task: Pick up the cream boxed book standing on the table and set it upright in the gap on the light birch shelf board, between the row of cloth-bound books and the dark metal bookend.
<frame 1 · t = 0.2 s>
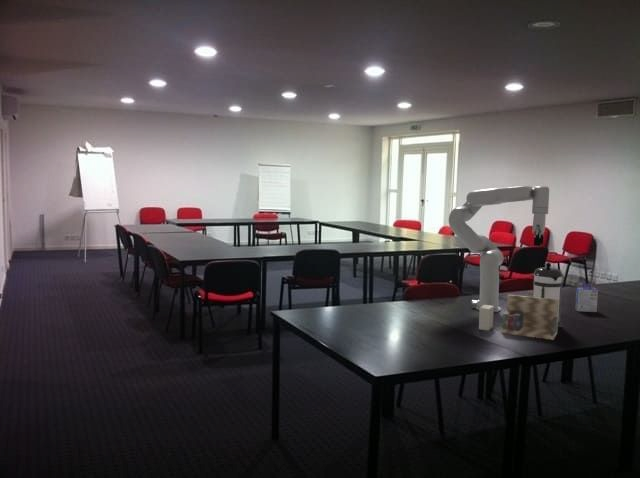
hand: (538, 244, 274), 37 cm above the table, tool pointing down, fingers open, 9 cm apart
ink cartridge box: (585, 311, 289), on the table
boxed book: (485, 327, 254), on the table
bookshelf: (529, 333, 245), on the table
coffee press: (543, 324, 261), on the table
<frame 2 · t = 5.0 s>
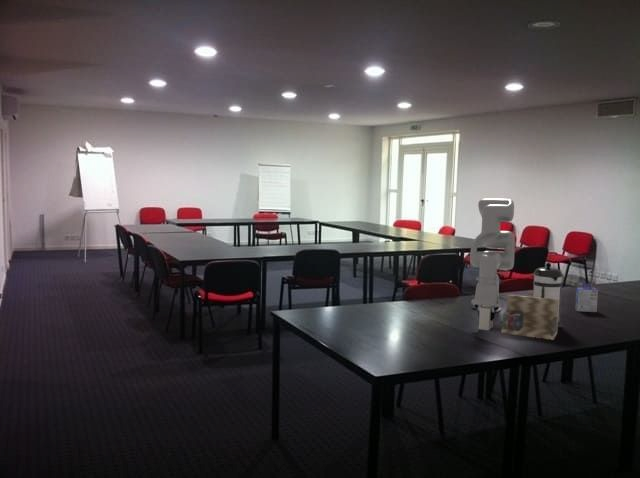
hand: (486, 318, 253), 4 cm above the table, tool pointing down, fingers closed on boxed book, 4 cm apart
boxed book: (485, 327, 254), on the table, touching gripper
everything else where it was.
when the fingers open (7 cm above the table, at t = 12.1 s): boxed book stays where it is, resting on bookshelf.
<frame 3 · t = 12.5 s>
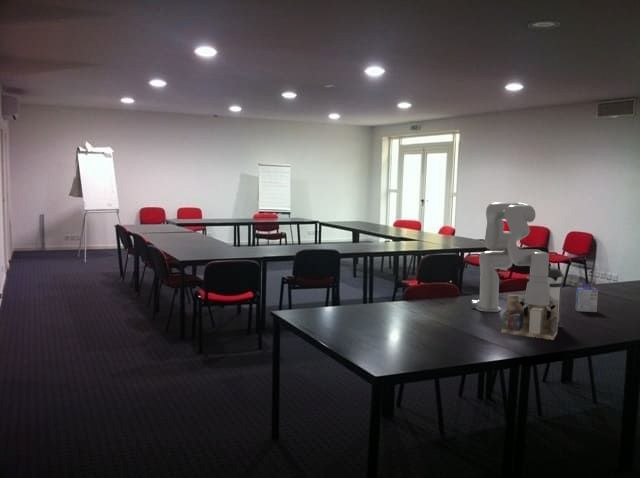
hand: (536, 317, 242), 8 cm above the table, tool pointing down, fingers open, 8 cm apart
boxed book: (536, 331, 243), point 1 cm above the table, touching bookshelf
everything else where it was.
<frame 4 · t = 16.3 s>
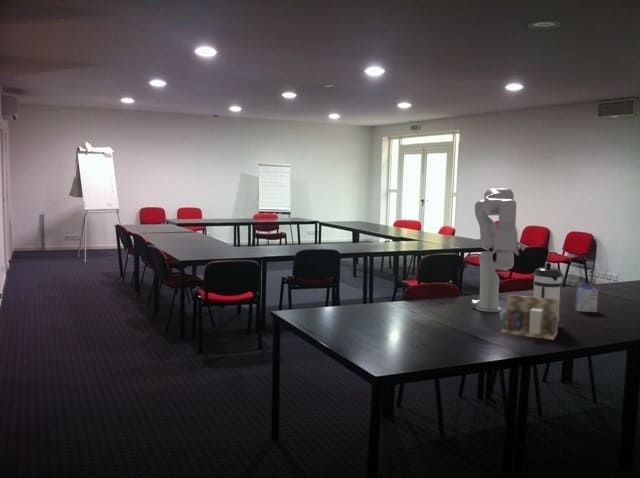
hand: (505, 262, 254), 30 cm above the table, tool pointing down, fingers open, 9 cm apart
nothing on the table moved.
at the end: boxed book 0.1 cm from the target spot, point 1.5 cm above the table; boxed book tilted 0°; the gripper is holding nothing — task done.
